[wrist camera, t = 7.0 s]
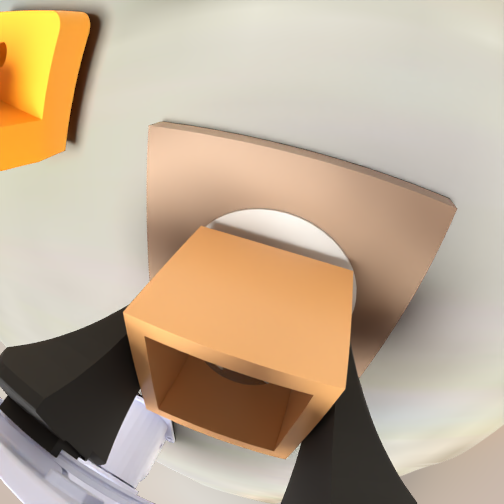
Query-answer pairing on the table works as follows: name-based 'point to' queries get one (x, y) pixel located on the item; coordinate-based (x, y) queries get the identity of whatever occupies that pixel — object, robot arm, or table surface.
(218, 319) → the collar
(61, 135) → the bracket
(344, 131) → the table surface
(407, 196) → the post base
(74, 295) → the table surface
